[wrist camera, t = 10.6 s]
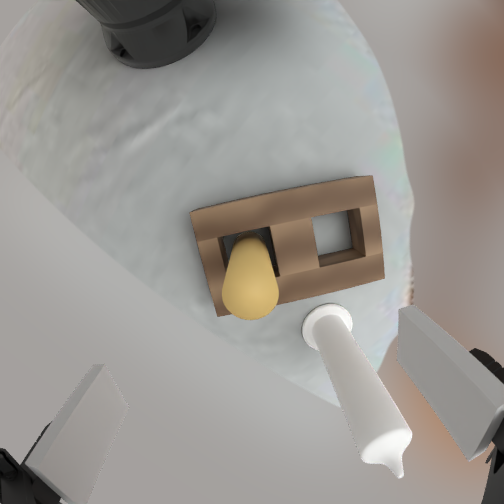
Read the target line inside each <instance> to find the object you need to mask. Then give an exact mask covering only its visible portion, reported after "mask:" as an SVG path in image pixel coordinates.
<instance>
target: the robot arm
mask: <svg viewBox="0 0 504 504" xmlns="http://www.w3.org/2000/svg"><path fill="white" fill-rule="evenodd" d="M76 1H77V2H78V3H79V4H80V5H81V6H83V7H84V8H85V9H86V10H87V11H88V12H89V13H90V14H91V15H93V16H94V17H95V18H96V19H97V20H98V21H99V22H100V23H101V26H102V30H103V34H104V38H105V42H106V45H107V47H108V49H109V50H110V52H111V53H112V54H113V55H114V56H115V57H116V58H117V59H118V60H120V61H121V62H122V63H124V64H126V65H128V66H131V67H135V68H155V67H160V66H164V65H167V64H170V63H173V62H175V61H178V60H180V59H182V58H183V57H185V56H187V55H188V54H190V53H191V52H193V51H194V50H195V49H197V48H198V47H199V46H200V45H201V44H202V43H203V42H204V41H205V40H206V39H207V37H208V36H209V34H210V33H211V31H212V29H213V27H214V24H215V19H216V11H215V6H214V2H213V0H76ZM397 361H398V362H399V364H400V365H401V366H402V368H403V369H404V370H405V372H406V373H407V374H408V376H409V377H410V378H411V380H412V381H413V382H414V384H415V385H416V386H417V388H418V389H419V391H420V392H421V393H422V395H423V396H424V398H425V399H426V400H427V402H428V403H429V404H430V406H431V407H432V409H433V410H434V412H435V413H436V414H437V416H438V417H439V419H440V420H441V421H442V423H443V424H444V426H445V427H446V429H447V430H448V432H449V433H450V435H451V436H452V437H453V439H454V440H455V442H456V443H457V445H458V446H459V448H460V449H461V451H462V453H463V454H464V456H465V457H466V459H467V460H468V462H469V461H471V460H472V459H474V458H475V457H477V456H478V455H480V454H481V453H483V452H484V451H486V449H487V447H488V446H489V444H490V442H491V441H492V442H493V443H494V444H495V447H494V449H493V450H492V452H491V453H490V455H489V456H488V458H487V460H486V463H488V462H489V461H490V459H491V458H492V460H491V466H490V471H489V475H488V480H487V484H486V488H485V492H484V496H483V500H482V503H481V504H504V368H502V366H501V365H500V364H499V363H498V362H495V360H494V359H493V358H492V357H491V356H490V355H489V354H487V353H486V352H484V351H481V350H479V349H476V348H474V349H473V350H471V351H467V350H466V349H465V348H464V347H463V346H462V345H460V344H459V343H458V342H457V341H456V340H455V339H454V338H453V337H452V336H450V335H449V334H448V333H447V332H446V331H445V330H443V329H442V328H441V327H440V326H439V325H438V324H436V323H435V322H434V321H433V320H432V319H430V318H429V317H428V316H427V315H426V314H425V313H423V312H422V311H421V310H419V309H418V308H417V307H416V306H415V305H414V304H413V305H410V306H407V307H404V308H401V309H399V326H398V351H397ZM128 409H129V406H128V404H127V402H126V401H125V399H124V397H123V396H122V394H121V392H120V390H119V389H118V387H117V385H116V383H115V382H114V380H113V378H112V376H111V374H110V372H109V370H108V368H107V367H106V365H105V364H99V365H93V366H92V367H91V368H90V370H89V371H88V373H87V374H86V375H85V376H84V378H83V379H82V380H81V382H80V383H79V385H78V386H77V387H76V389H75V390H74V391H73V393H72V394H71V396H70V397H69V398H68V400H67V401H66V402H65V404H64V405H63V407H62V408H61V409H60V411H59V412H58V414H57V415H56V417H55V418H54V420H53V421H52V422H51V423H49V424H48V425H47V426H46V427H45V428H44V430H43V431H42V433H41V436H39V437H38V439H37V442H35V443H34V445H33V446H32V448H31V450H30V451H29V453H28V454H27V456H26V457H25V459H24V460H23V462H22V463H21V465H19V464H18V463H17V462H16V460H15V459H14V458H13V457H12V456H11V455H10V454H9V453H8V452H7V451H6V449H3V448H0V503H1V504H62V503H60V502H59V501H60V499H61V498H62V499H63V500H65V501H66V502H67V503H68V504H87V502H88V500H89V497H90V495H91V493H92V490H93V488H94V485H95V483H96V481H97V478H98V475H99V473H100V471H101V469H102V466H103V464H104V462H105V460H106V457H107V455H108V453H109V450H110V448H111V446H112V444H113V441H114V439H115V437H116V435H117V433H118V430H119V428H120V426H121V424H122V422H123V420H124V417H125V415H126V413H127V411H128Z"/></svg>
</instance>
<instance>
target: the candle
mask: <svg viewBox="0 0 504 504" xmlns="http://www.w3.org/2000/svg"><path fill="white" fill-rule="evenodd" d="M351 330H352V318H351V315H350V314H349V312H348V311H347V310H346V309H345V308H344V307H342V306H340V305H337V304H325V305H321V306H319V307H317V308H315V309H314V310H312V311H311V312H310V313H309V314H308V315H307V317H306V318H305V320H304V323H303V326H302V334H303V338H304V340H305V342H306V343H307V344H308V345H309V346H310V347H312V348H314V349H316V350H319V352H320V354H321V357H322V359H323V362H324V364H325V367H326V369H327V372H328V374H329V377H330V379H331V382H332V384H333V387H334V389H335V392H336V394H337V397H338V399H339V402H340V405H341V407H342V409H343V412H344V415H345V418H346V420H347V422H348V425H349V428H350V431H351V433H352V436H353V439H354V441H355V444H356V447H357V449H358V452H359V455H360V457H361V459H362V460H363V461H364V462H366V463H369V464H384V465H386V466H387V467H389V468H390V470H391V471H392V472H393V473H394V474H395V475H396V477H397V478H401V477H403V475H404V472H403V465H402V453H403V452H404V450H405V449H406V447H407V446H408V444H409V443H410V441H411V439H412V431H411V430H410V428H409V426H408V424H407V423H406V421H405V419H404V418H403V416H402V414H401V413H400V411H399V409H398V407H397V406H396V404H395V402H394V401H393V399H392V398H391V396H390V394H389V393H388V391H387V389H386V388H385V386H384V384H383V383H382V381H381V380H380V378H379V376H378V375H377V373H376V372H375V370H374V368H373V367H372V365H371V364H370V362H369V360H368V359H367V357H366V356H365V354H364V353H363V351H362V349H361V348H360V346H359V345H358V343H357V342H356V340H355V339H354V337H353V336H352V334H351Z"/></svg>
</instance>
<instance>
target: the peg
mask: <svg viewBox="0 0 504 504" xmlns="http://www.w3.org/2000/svg"><path fill="white" fill-rule="evenodd" d="M278 297H279V289H278V285H277V282H276V278H275V275H274V271H273V268H272V264H271V260H270V257H269V253H268V250H267V246H266V243H265V240H264V239H263V238H262V236H261V235H259V234H257V233H255V232H244V233H242V234H240V235H239V236H238V237H237V238H236V239H235V241H234V244H233V248H232V252H231V256H230V260H229V264H228V268H227V272H226V276H225V280H224V284H223V288H222V299H223V303H224V305H225V307H226V308H227V309H228V310H229V312H231V313H232V314H233V315H235V316H236V317H238V318H241V319H245V320H255V319H259V318H262V317H264V316H266V315H268V314H269V313H270V312H271V311H272V310H273V309H274V307H275V306H276V304H277V301H278Z"/></svg>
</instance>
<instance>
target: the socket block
mask: <svg viewBox="0 0 504 504" xmlns="http://www.w3.org/2000/svg"><path fill="white" fill-rule="evenodd" d="M345 210H347V212H348V219H349V225H350V232H351V239H352V247H353V248H351V249H346V250H342V251H338V252H333V253H329V254H324V255H320V256H318V254H317V248H316V242H315V236H314V231H313V225H312V219H311V217H315V216H320V215H325V214H330V213H335V212H340V211H345ZM190 217H191V221H192V225H193V229H194V233H195V237H196V241H197V244H198V248H199V252H200V256H201V260H202V263H203V267H204V271H205V274H206V278H207V282H208V285H209V289H210V292H211V296H212V299H213V303H214V306H215V310H216V313H217V317H219V316H225V315H230V314H232V313H231V312H229V310H228V309H227V308H226V307H225V305H224V303H223V299H222V288H223V284H224V280H225V276H226V272H227V268H228V264H229V261H228V257H227V253H226V249H225V245H224V241H223V237H222V236H226V235H231V234H235V233H240V232H244V231H249V230H253V229H258V228H263V227H267V226H268V227H269V232H270V237H271V241H272V246H273V251H274V256H275V261H276V265H275V266H272V268H273V271H274V275H275V278H276V282H277V285H278V289H279V297H278V301H277V304H276V305H279V304H284V303H288V302H293V301H297V300H302V299H306V298H310V297H314V296H319V295H323V294H327V293H331V292H335V291H339V290H343V289H347V288H351V287H355V286H359V285H362V284H366V283H370V282H373V281H377V280H381V279H384V278H385V274H384V260H383V249H382V239H381V230H380V221H379V214H378V206H377V200H376V193H375V187H374V181H373V176H356V177H350V178H344V179H338V180H332V181H327V182H321V183H316V184H310V185H305V186H300V187H294V188H289V189H284V190H279V191H274V192H270V193H265V194H260V195H255V196H251V197H246V198H242V199H237V200H233V201H228V202H224V203H220V204H216V205H211V206H207V207H203V208H199V209H196V210H194V211H192V212H190Z"/></svg>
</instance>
